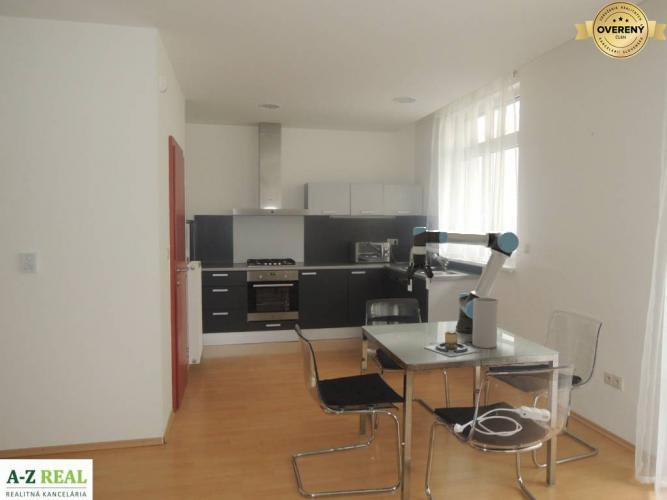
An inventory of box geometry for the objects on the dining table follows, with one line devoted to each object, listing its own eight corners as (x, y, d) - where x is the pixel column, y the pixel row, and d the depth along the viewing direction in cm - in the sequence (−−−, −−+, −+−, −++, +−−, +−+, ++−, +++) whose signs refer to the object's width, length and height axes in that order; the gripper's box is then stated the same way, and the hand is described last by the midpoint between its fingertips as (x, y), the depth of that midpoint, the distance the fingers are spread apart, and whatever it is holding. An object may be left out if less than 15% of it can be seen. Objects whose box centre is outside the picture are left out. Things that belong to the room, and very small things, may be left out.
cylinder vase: (482, 349, 258) (483, 302, 256) (467, 344, 270) (468, 298, 268) (501, 347, 263) (502, 300, 261) (486, 341, 274) (487, 297, 273)
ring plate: (452, 343, 271) (452, 342, 271) (479, 351, 254) (479, 350, 254) (424, 347, 261) (424, 346, 261) (450, 357, 244) (450, 355, 244)
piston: (451, 345, 262) (451, 330, 262) (460, 348, 257) (460, 332, 256) (442, 347, 259) (442, 332, 258) (450, 350, 254) (451, 334, 253)
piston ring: (452, 343, 269) (452, 340, 269) (474, 350, 254) (474, 347, 254) (428, 347, 261) (428, 344, 260) (450, 354, 246) (450, 351, 246)
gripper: (431, 252, 296) (431, 287, 298) (398, 254, 284) (397, 290, 285) (440, 253, 290) (439, 289, 291) (406, 254, 278) (406, 292, 279)
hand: (419, 290), depth 288 cm, fingers open, 13 cm apart
